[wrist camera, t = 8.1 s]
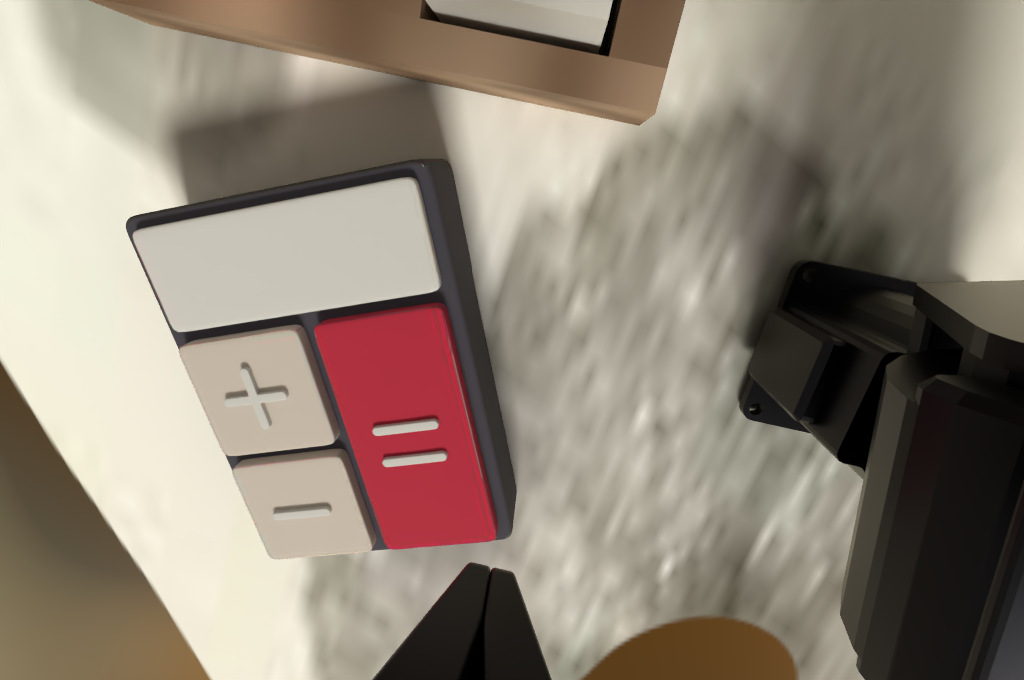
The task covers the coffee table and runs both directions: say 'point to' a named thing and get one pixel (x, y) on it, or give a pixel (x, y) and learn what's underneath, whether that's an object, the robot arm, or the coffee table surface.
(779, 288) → the coffee table surface
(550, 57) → the key panel
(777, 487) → the coffee table surface
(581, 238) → the coffee table surface
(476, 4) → the cream key
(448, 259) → the calculator
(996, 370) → the robot arm
